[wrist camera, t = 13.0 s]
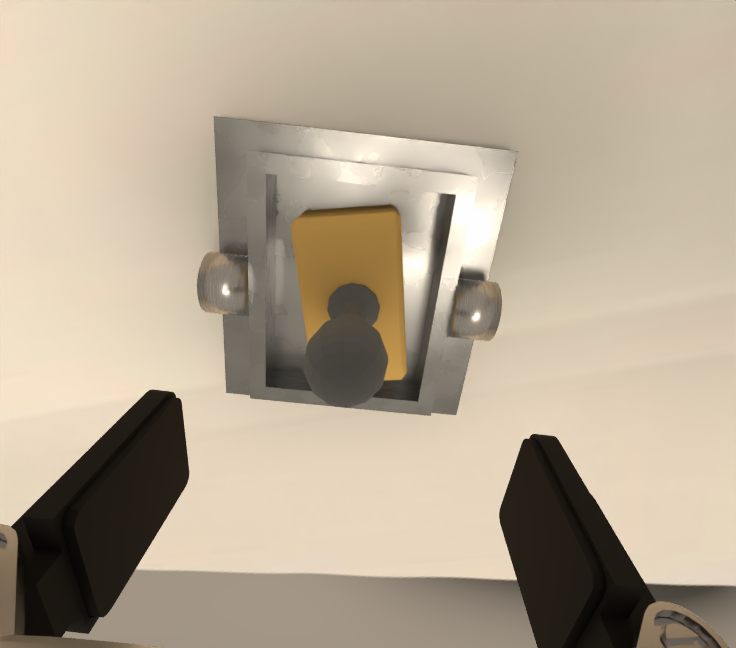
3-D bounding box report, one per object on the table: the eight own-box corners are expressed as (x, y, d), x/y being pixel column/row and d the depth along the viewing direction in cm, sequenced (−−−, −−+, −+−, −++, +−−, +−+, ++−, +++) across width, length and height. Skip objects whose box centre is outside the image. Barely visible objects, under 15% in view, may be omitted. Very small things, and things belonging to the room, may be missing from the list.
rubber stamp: (403, 352, 27) (423, 487, 16) (320, 357, 27) (282, 493, 16) (397, 203, 23) (418, 245, 12) (300, 210, 23) (233, 258, 12)
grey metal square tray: (511, 151, 23) (543, 150, 19) (453, 405, 30) (466, 448, 26) (221, 118, 22) (184, 108, 18) (231, 383, 30) (207, 423, 25)
